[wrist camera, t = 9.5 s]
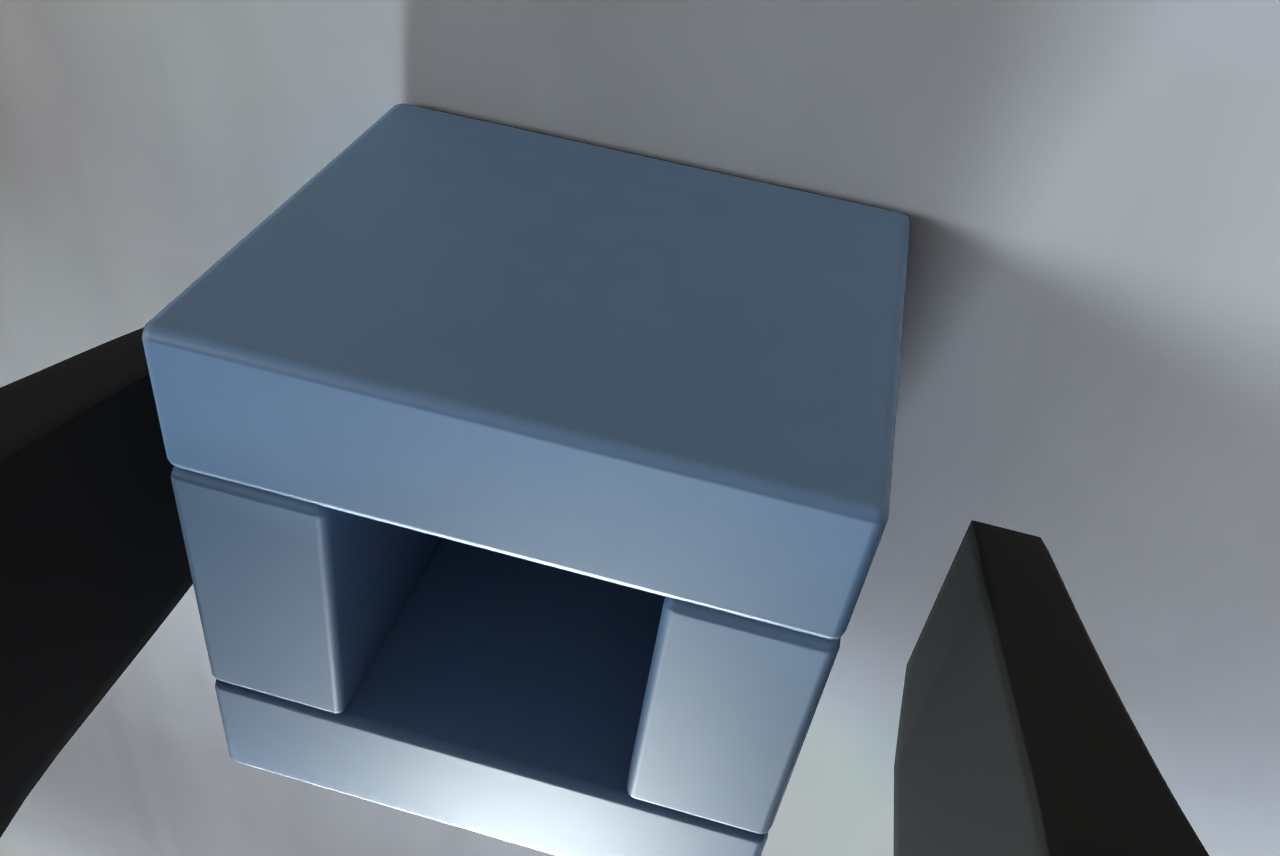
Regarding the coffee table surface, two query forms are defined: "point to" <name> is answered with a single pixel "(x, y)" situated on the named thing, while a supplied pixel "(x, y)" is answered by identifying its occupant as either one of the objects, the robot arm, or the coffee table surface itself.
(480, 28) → the coffee table surface
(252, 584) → the blue block
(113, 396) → the robot arm
